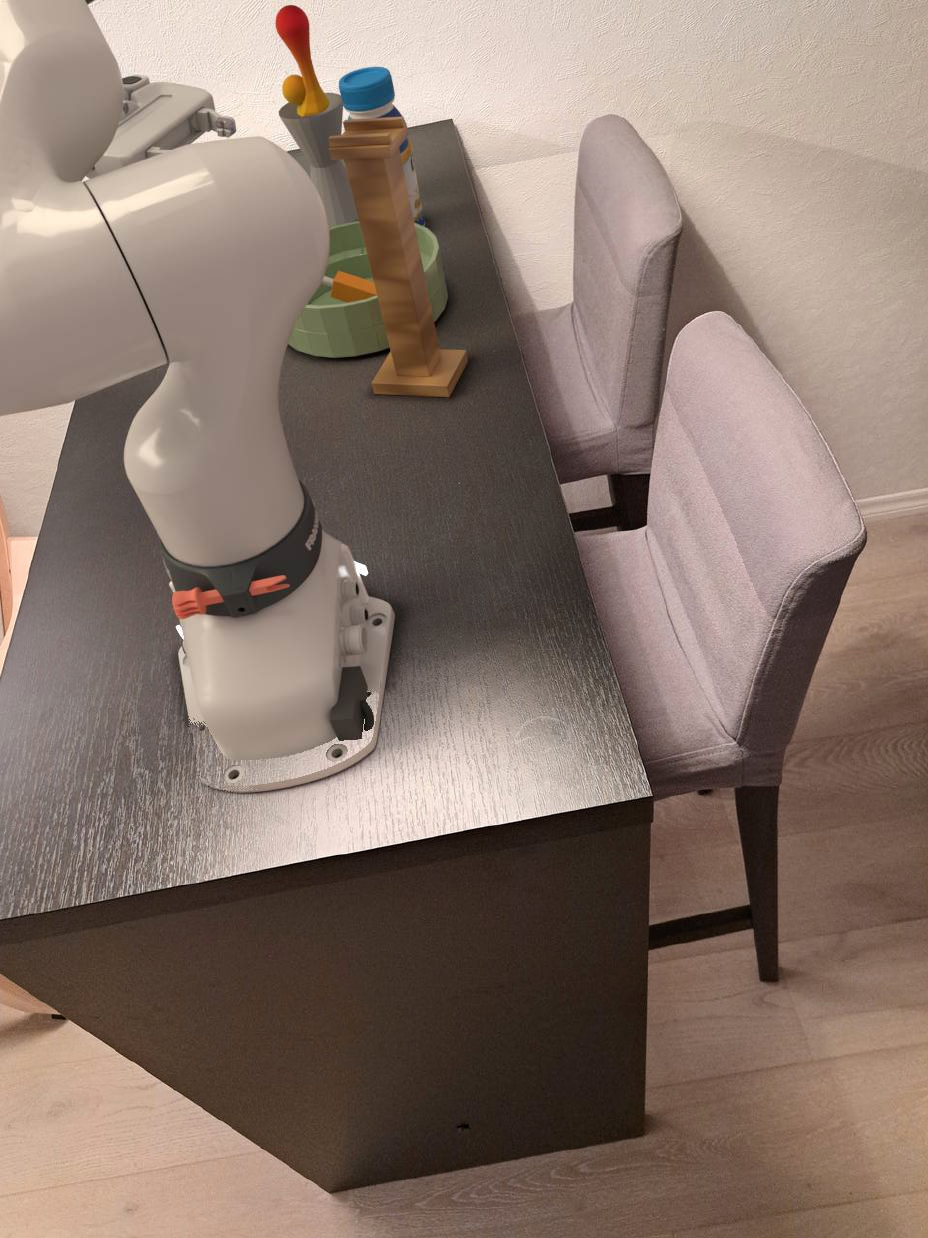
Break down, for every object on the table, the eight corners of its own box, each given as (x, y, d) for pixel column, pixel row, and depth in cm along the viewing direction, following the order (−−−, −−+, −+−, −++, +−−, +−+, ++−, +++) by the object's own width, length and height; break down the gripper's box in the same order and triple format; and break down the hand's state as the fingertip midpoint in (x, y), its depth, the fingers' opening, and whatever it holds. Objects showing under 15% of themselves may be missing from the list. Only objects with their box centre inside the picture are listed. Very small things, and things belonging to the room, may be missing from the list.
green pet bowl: (458, 338, 110) (448, 283, 105) (281, 377, 111) (263, 323, 106) (438, 257, 125) (428, 205, 120) (281, 291, 125) (265, 240, 120)
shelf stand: (468, 361, 107) (423, 109, 87) (449, 397, 102) (398, 141, 83) (395, 358, 109) (336, 114, 90) (373, 394, 105) (307, 145, 86)
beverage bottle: (356, 234, 133) (318, 81, 119) (405, 211, 136) (373, 58, 121) (389, 251, 128) (353, 93, 114) (438, 227, 131) (410, 69, 116)
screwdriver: (390, 305, 117) (393, 288, 115) (385, 315, 115) (388, 298, 114) (265, 263, 116) (267, 246, 114) (259, 273, 114) (260, 255, 113)
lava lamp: (369, 195, 142) (304, -88, 116) (367, 221, 136) (298, -71, 110) (311, 205, 143) (233, -73, 117) (306, 232, 136) (223, -56, 111)
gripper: (45, 133, 100) (161, 150, 97) (143, 68, 113) (248, 82, 110) (63, 193, 105) (175, 210, 102) (156, 124, 118) (257, 138, 115)
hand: (214, 143), depth 106 cm, fingers open, 8 cm apart
